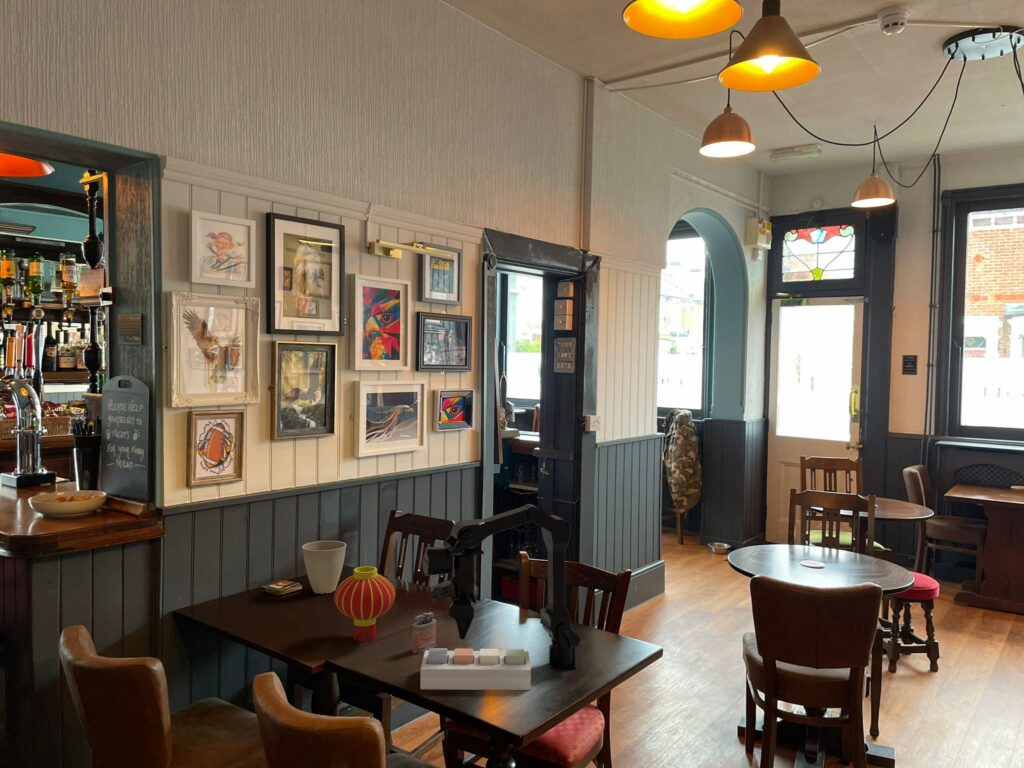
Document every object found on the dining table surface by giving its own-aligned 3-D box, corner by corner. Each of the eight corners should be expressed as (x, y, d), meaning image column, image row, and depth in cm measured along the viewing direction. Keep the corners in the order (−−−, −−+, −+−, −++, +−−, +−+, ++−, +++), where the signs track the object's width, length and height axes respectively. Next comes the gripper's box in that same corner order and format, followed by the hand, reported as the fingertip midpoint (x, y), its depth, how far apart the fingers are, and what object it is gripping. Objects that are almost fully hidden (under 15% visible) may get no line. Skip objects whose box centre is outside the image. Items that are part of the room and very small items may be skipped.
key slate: (447, 658, 193) (447, 648, 193) (446, 665, 188) (446, 655, 188) (429, 657, 193) (429, 648, 193) (427, 665, 188) (428, 655, 188)
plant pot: (348, 584, 271) (349, 540, 270) (342, 597, 256) (342, 550, 255) (306, 584, 270) (307, 540, 269) (297, 597, 255) (297, 550, 254)
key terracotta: (472, 658, 193) (473, 648, 193) (472, 665, 189) (472, 655, 188) (454, 658, 193) (455, 648, 193) (453, 665, 188) (454, 655, 188)
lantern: (404, 631, 224) (405, 531, 224) (378, 652, 208) (379, 544, 207) (352, 625, 229) (353, 526, 228) (323, 645, 212) (324, 539, 211)
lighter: (430, 643, 215) (430, 608, 215) (438, 646, 213) (439, 611, 212) (409, 651, 209) (409, 615, 208) (417, 654, 206) (418, 618, 206)
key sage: (523, 658, 193) (523, 649, 193) (524, 665, 189) (524, 655, 189) (505, 658, 193) (505, 648, 193) (505, 665, 189) (506, 655, 189)
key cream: (498, 658, 193) (498, 648, 193) (498, 665, 189) (498, 655, 189) (480, 658, 193) (480, 648, 193) (479, 665, 189) (480, 655, 189)
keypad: (528, 670, 197) (528, 651, 197) (530, 690, 185) (530, 669, 185) (424, 669, 197) (425, 650, 197) (420, 689, 185) (420, 669, 185)
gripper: (435, 562, 200) (435, 620, 200) (428, 582, 181) (427, 646, 182) (477, 562, 200) (477, 620, 201) (474, 583, 181) (473, 647, 182)
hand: (463, 633), depth 191 cm, fingers open, 8 cm apart
